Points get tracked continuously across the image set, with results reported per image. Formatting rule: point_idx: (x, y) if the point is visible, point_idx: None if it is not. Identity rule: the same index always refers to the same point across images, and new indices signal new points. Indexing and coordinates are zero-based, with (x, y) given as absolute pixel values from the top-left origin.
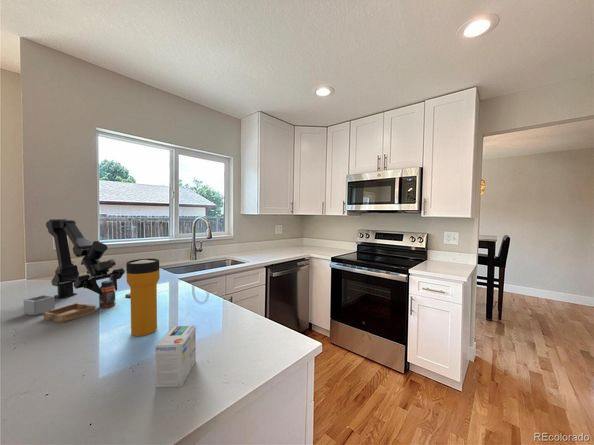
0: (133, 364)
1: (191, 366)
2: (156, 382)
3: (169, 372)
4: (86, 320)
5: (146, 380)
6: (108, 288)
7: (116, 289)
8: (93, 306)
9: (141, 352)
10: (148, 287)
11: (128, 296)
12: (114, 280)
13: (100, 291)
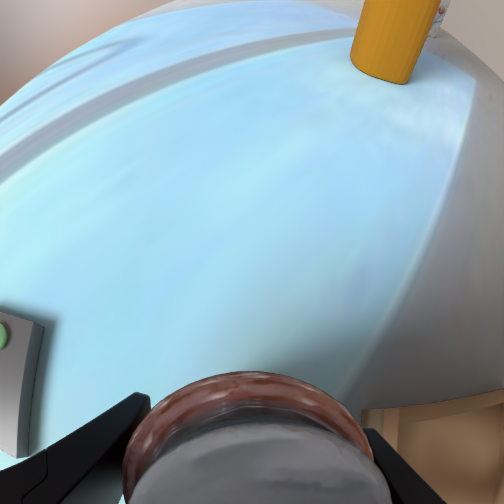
0: (439, 57)
1: None
2: (436, 33)
3: None
4: (455, 310)
5: (438, 44)
6: (316, 387)
7: (147, 397)
8: (396, 412)
9: (420, 55)
10: None
11: (24, 423)
12: (40, 499)
13: (384, 448)
